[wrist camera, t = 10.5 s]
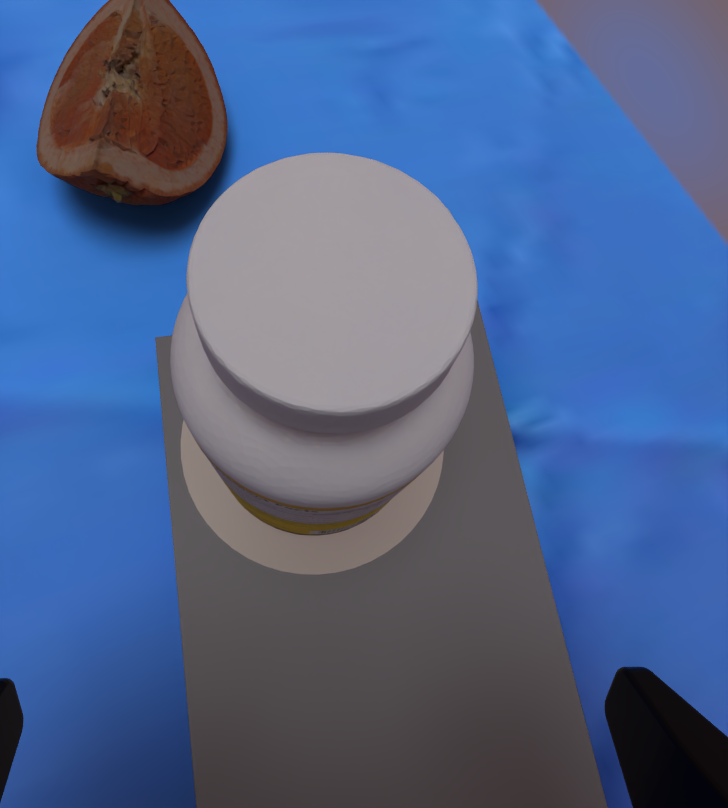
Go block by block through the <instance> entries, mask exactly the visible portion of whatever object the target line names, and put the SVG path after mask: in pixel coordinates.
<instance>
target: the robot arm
mask: <svg viewBox="0 0 728 808" xmlns="http://www.w3.org/2000/svg"><path fill="white" fill-rule="evenodd" d="M605 715H606V719H607V722H608V726H609V729H610V732H611V736H612V739H613V742H614V746H615V749H616V753H617V756H618V759H619V763H620V766H621V769H622V773H623V776H624V779H625V783H626V786H627V789H628V793H629V796H630V799H631V803H632V806H633V808H728V737H727V736H726V735H725V734H724V733H722V732H721V731H720V730H719V729H718V728H717V727H715V726H714V725H713V724H712V723H711V722H710V721H708V720H707V719H706V718H705V717H704V716H703V715H701V714H700V713H699V712H698V711H697V710H696V709H694V708H693V707H692V706H691V705H690V704H689V703H687V702H686V701H685V700H684V699H683V698H682V697H681V696H679V695H678V694H677V693H676V692H675V691H674V690H672V689H671V688H670V687H669V686H668V685H667V684H665V683H664V682H663V681H662V680H661V679H660V678H658V677H657V676H656V675H655V674H654V673H653V672H651V671H650V670H648V669H647V668H644V667H621V668H620V669H618V670H617V672H616V674H615V677H614V679H613V682H612V684H611V687H610V689H609V692H608V694H607V697H606V700H605ZM22 728H23V713H22V709H21V706H20V702H19V699H18V695H17V691H16V688H15V685H14V682H13V681H12V680H10V679H8V678H0V802H1V798H2V795H3V792H4V789H5V785H6V782H7V779H8V776H9V772H10V769H11V766H12V762H13V759H14V756H15V753H16V749H17V746H18V743H19V740H20V736H21V733H22Z"/></svg>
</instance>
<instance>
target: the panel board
mask: <svg viewBox="0 0 728 808" xmlns="http://www.w3.org/2000/svg"><path fill="white" fill-rule="evenodd" d="M470 333H471V338H472V343H473V352H474V373H473V383H472V388H471V394H470V398H469V402H468V405H467V408H466V410H465V413H464V416H463V418H462V420H461V422H460V424H459V426H458V428H457V430H456V432H455V434H454V436H453V437H452V439H451V440H450V442H449V443H448V444H447V446H446V447H445V449H444V450H443V451H442V453H441V454H440V455H439V456H438V457H437V458H436V460H435V461H434V462H433V463H432V464H431V465H430V466H429V467H428V468H427V469H426V470H425V471H424V472H422V473H421V474H420V475H419V476H418V477H417V478H416V479H415V480H413V481H412V482H411V483H410V484H409V485H408V486H406V487H405V488H404V489H403V490H402V491H400V492H399V493H398V494H397V495H396V496H395V497H394V498H392V499H391V500H390V501H389V502H388V503H387V504H386V505H385V506H384V507H383V508H382V509H381V510H380V511H379V512H378V513H376V514H375V515H374V516H372V517H371V518H369V519H368V520H366V521H365V522H363V523H361V524H359V525H357V526H355V527H352V528H350V529H348V530H345V531H341V532H338V533H333V534H328V535H319V536H310V535H298V534H293V533H289V532H285V531H282V530H279V529H276V528H274V527H272V526H270V525H268V524H266V523H264V522H262V521H261V520H259V519H258V518H256V517H255V516H253V515H252V514H251V513H250V512H248V511H247V510H246V509H245V508H244V507H243V506H242V505H241V504H240V503H239V502H238V501H237V499H236V498H235V497H234V495H233V494H232V493H231V491H230V490H229V489H228V487H227V486H226V484H225V483H224V482H223V480H222V479H221V477H220V476H219V474H218V473H217V472H216V470H215V469H214V467H213V466H212V464H211V463H210V461H209V460H208V459H207V457H206V456H205V455H204V453H203V452H202V450H201V449H200V447H199V446H198V444H197V443H196V441H195V439H194V438H193V436H192V434H191V432H190V431H189V429H188V427H187V425H186V423H185V421H184V419H183V416H182V414H181V412H180V410H179V407H178V403H177V400H176V397H175V393H174V388H173V384H172V377H171V368H170V356H171V341H172V336H164V337H156V338H155V340H156V351H157V363H158V374H159V386H160V397H161V408H162V420H163V431H164V443H165V454H166V466H167V477H168V488H169V500H170V511H171V523H172V534H173V546H174V557H175V569H176V580H177V591H178V603H179V614H180V626H181V637H182V649H183V660H184V672H185V683H186V694H187V706H188V717H189V729H190V740H191V752H192V763H193V774H194V786H195V797H196V808H607V804H606V800H605V796H604V792H603V788H602V784H601V780H600V776H599V772H598V769H597V765H596V761H595V757H594V753H593V749H592V745H591V741H590V737H589V733H588V730H587V726H586V722H585V718H584V714H583V710H582V706H581V702H580V698H579V694H578V691H577V687H576V683H575V679H574V675H573V671H572V667H571V663H570V659H569V655H568V652H567V648H566V644H565V640H564V636H563V632H562V628H561V624H560V620H559V616H558V613H557V609H556V605H555V601H554V597H553V593H552V589H551V585H550V581H549V577H548V574H547V570H546V566H545V562H544V558H543V554H542V550H541V546H540V542H539V538H538V535H537V531H536V527H535V523H534V519H533V515H532V511H531V507H530V503H529V499H528V496H527V492H526V488H525V484H524V480H523V476H522V472H521V468H520V464H519V460H518V457H517V453H516V449H515V445H514V441H513V437H512V433H511V429H510V425H509V421H508V418H507V414H506V410H505V406H504V402H503V398H502V394H501V390H500V386H499V382H498V379H497V375H496V371H495V367H494V363H493V359H492V355H491V351H490V347H489V343H488V340H487V336H486V332H485V328H484V324H483V320H482V316H481V312H480V308H479V304H478V301H477V306H476V312H475V316H474V321H473V325H472V327H471V330H470Z"/></svg>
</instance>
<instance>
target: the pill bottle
mask: <svg viewBox="0 0 728 808" xmlns="http://www.w3.org/2000/svg"><path fill="white" fill-rule="evenodd" d="M187 292H188V293H187V295H186V297H185V299H184V301H183V303H182V306H181V308H180V310H179V313H178V316H177V319H176V323H175V326H174V330H173V335H172V341H171V356H170V368H171V377H172V384H173V388H174V393H175V397H176V400H177V403H178V407H179V410H180V412H181V414H182V416H183V419H184V421H185V423H186V425H187V427H188V429H189V431H190V432H191V434H192V436H193V438H194V439H195V441H196V443H197V444H198V446H199V447H200V449H201V450H202V452H203V453H204V455H205V456H206V457H207V459H208V460H209V461H210V463H211V464H212V466H213V467H214V469H215V470H216V472H217V473H218V474H219V476H220V477H221V479H222V480H223V482H224V483H225V484H226V486H227V487H228V489H229V490H230V491H231V493H232V494H233V495H234V497H235V498H236V499H237V501H238V502H239V503H240V504H241V505H242V506H243V507H244V508H245V509H246V510H247V511H248V512H250V513H251V514H252V515H253V516H255V517H256V518H258V519H259V520H261V521H262V522H264V523H266V524H268V525H270V526H272V527H274V528H276V529H279V530H282V531H285V532H289V533H293V534H298V535H310V536H319V535H328V534H333V533H338V532H341V531H345V530H348V529H350V528H352V527H355V526H357V525H359V524H361V523H363V522H365V521H366V520H368V519H369V518H371V517H372V516H374V515H375V514H376V513H378V512H379V511H380V510H381V509H382V508H383V507H384V506H385V505H386V504H387V503H388V502H389V501H390V500H391V499H392V498H394V497H395V496H396V495H397V494H398V493H399V492H400V491H402V490H403V489H404V488H405V487H406V486H408V485H409V484H410V483H411V482H412V481H413V480H415V479H416V478H417V477H418V476H419V475H420V474H421V473H422V472H424V471H425V470H426V469H427V468H428V467H429V466H430V465H431V464H432V463H433V462H434V461H435V460H436V458H437V457H438V456H439V455H440V454H441V453H442V451H443V450H444V449H445V447H446V446H447V444H448V443H449V442H450V440H451V439H452V437H453V436H454V434H455V432H456V430H457V428H458V426H459V424H460V422H461V420H462V418H463V416H464V413H465V410H466V408H467V405H468V402H469V398H470V394H471V388H472V383H473V373H474V352H473V343H472V338H471V333H470V330H471V327H472V325H473V321H474V316H475V312H476V306H477V276H476V268H475V264H474V260H473V256H472V252H471V250H470V247H469V245H468V243H467V240H466V238H465V236H464V234H463V232H462V230H461V228H460V227H459V225H458V224H457V222H456V221H455V219H454V218H453V217H452V215H451V213H450V211H449V210H448V209H447V208H446V207H445V206H444V205H443V203H442V202H441V201H440V200H439V199H438V198H437V197H436V196H435V195H434V194H433V193H432V192H430V191H429V190H428V189H427V188H426V187H424V186H423V185H422V184H421V183H419V182H418V181H416V180H414V179H413V178H411V177H410V176H408V175H406V174H405V173H403V172H401V171H400V170H398V169H395V168H393V167H390V166H388V165H386V164H383V163H381V162H378V161H376V160H372V159H368V158H364V157H359V156H353V155H347V154H339V153H310V154H303V155H298V156H293V157H288V158H284V159H281V160H278V161H275V162H272V163H270V164H267V165H265V166H262V167H260V168H257V169H256V170H254V171H252V172H251V173H249V174H247V175H246V176H244V177H242V178H241V179H239V180H238V181H237V182H235V183H234V184H233V185H232V186H230V187H229V188H228V189H227V190H226V191H225V192H224V193H223V194H222V195H221V196H220V197H219V198H218V199H217V200H216V201H215V202H214V204H213V205H212V206H211V208H210V209H209V210H208V212H207V213H206V215H205V216H204V218H203V220H202V221H201V223H200V226H199V228H198V230H197V232H196V234H195V236H194V239H193V242H192V246H191V249H190V253H189V259H188V266H187Z"/></svg>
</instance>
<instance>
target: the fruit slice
mask: <svg viewBox="0 0 728 808" xmlns="http://www.w3.org/2000/svg"><path fill="white" fill-rule="evenodd" d="M226 139H227V116H226V109H225V105H224V100H223V96H222V93H221V89H220V86H219V83H218V80H217V77H216V75H215V71H214V68H213V66H212V64H211V61H210V59H209V57H208V55H207V53H206V51H205V49H204V47H203V46H202V44H201V43H200V41H199V40H198V38H197V36H196V35H195V33H194V32H193V30H192V29H191V28H190V27H189V25H188V24H187V23H186V21H185V20H184V18H183V17H182V16H181V15H180V13H179V12H178V11H177V10H176V8H175V7H174V6H173V5H172V3H171V2H170V1H169V0H109V1H108V2H107V3H106V4H105V5H104V6H103V7H102V8H101V9H100V10H99V11H98V12H97V13H96V14H95V15H94V16H93V17H92V19H91V20H90V21H89V22H88V23H87V24H86V26H85V27H84V28H83V30H82V31H81V33H80V34H79V35H78V37H77V38H76V39H75V41H74V42H73V44H72V45H71V47H70V49H69V50H68V52H67V53H66V55H65V57H64V59H63V61H62V63H61V65H60V67H59V69H58V71H57V73H56V75H55V78H54V80H53V82H52V85H51V87H50V90H49V93H48V96H47V99H46V102H45V105H44V109H43V113H42V117H41V120H40V126H39V131H38V141H37V157H38V161H39V163H40V165H41V166H42V167H44V169H45V170H46V171H47V172H48V173H50V174H52V175H54V176H55V177H57V178H59V179H61V180H63V181H65V182H67V183H69V184H71V185H73V186H75V187H78V188H80V189H83V190H85V191H87V192H90V193H93V194H96V195H99V196H103V197H106V196H107V197H110V198H112V199H113V200H115V201H116V202H117V203H120V202H121V203H127V204H132V205H162V204H166V203H169V202H173V201H175V200H177V199H179V198H181V197H184V196H187V195H189V194H191V193H192V192H194V191H195V190H197V189H198V188H199V187H201V186H202V185H203V184H204V183H205V182H206V181H207V180H208V179H209V178H210V177H211V175H212V174H213V172H214V171H215V169H216V167H217V166H218V165H219V163H220V160H221V158H222V155H223V151H224V148H225V145H226Z"/></svg>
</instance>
